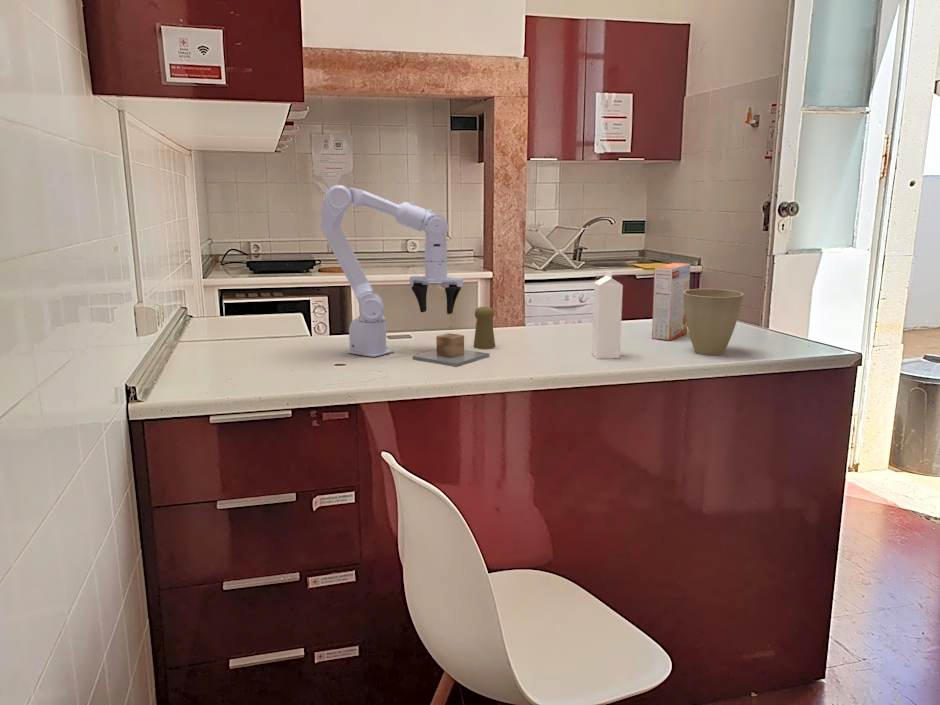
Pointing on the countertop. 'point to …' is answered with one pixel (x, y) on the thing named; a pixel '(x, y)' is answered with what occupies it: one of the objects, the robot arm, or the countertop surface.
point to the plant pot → (711, 318)
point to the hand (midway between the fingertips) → (436, 312)
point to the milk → (607, 318)
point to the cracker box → (670, 300)
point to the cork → (484, 328)
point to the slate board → (456, 361)
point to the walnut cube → (450, 345)
